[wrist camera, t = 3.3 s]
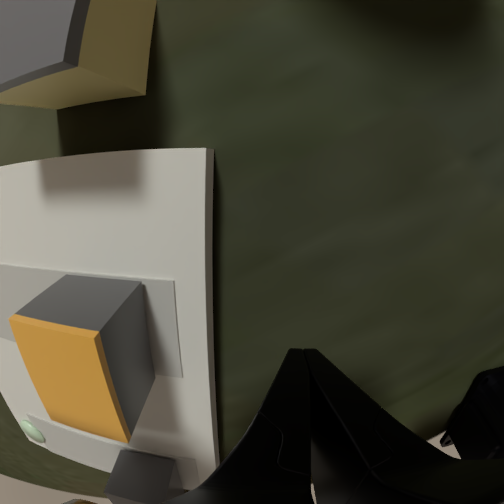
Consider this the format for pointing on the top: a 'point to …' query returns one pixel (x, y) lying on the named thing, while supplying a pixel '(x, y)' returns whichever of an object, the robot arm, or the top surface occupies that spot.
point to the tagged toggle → (88, 353)
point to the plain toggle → (143, 480)
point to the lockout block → (73, 51)
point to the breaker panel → (125, 268)
